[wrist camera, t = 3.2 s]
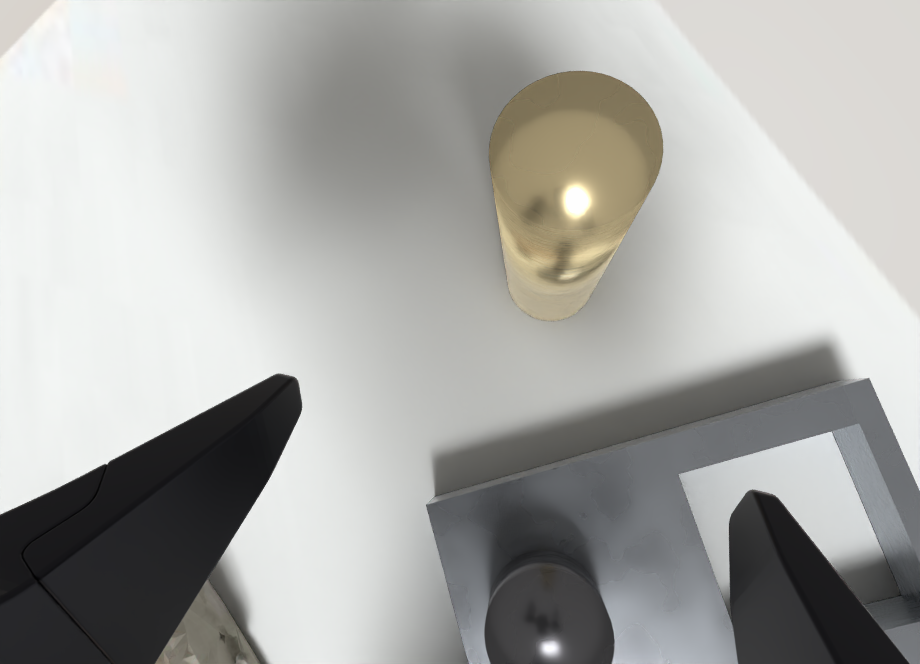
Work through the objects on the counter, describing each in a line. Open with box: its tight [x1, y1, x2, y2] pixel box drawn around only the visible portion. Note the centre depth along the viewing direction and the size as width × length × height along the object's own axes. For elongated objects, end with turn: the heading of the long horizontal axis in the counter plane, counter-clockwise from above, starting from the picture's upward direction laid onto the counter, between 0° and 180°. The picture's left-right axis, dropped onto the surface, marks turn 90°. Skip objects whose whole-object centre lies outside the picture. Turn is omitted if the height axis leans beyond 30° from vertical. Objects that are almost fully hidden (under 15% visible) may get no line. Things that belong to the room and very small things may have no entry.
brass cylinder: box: [489, 71, 663, 321], centre depth 18 cm, size 4×4×12 cm
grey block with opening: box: [426, 378, 920, 664], centre depth 19 cm, size 18×10×4 cm, turn 106°
